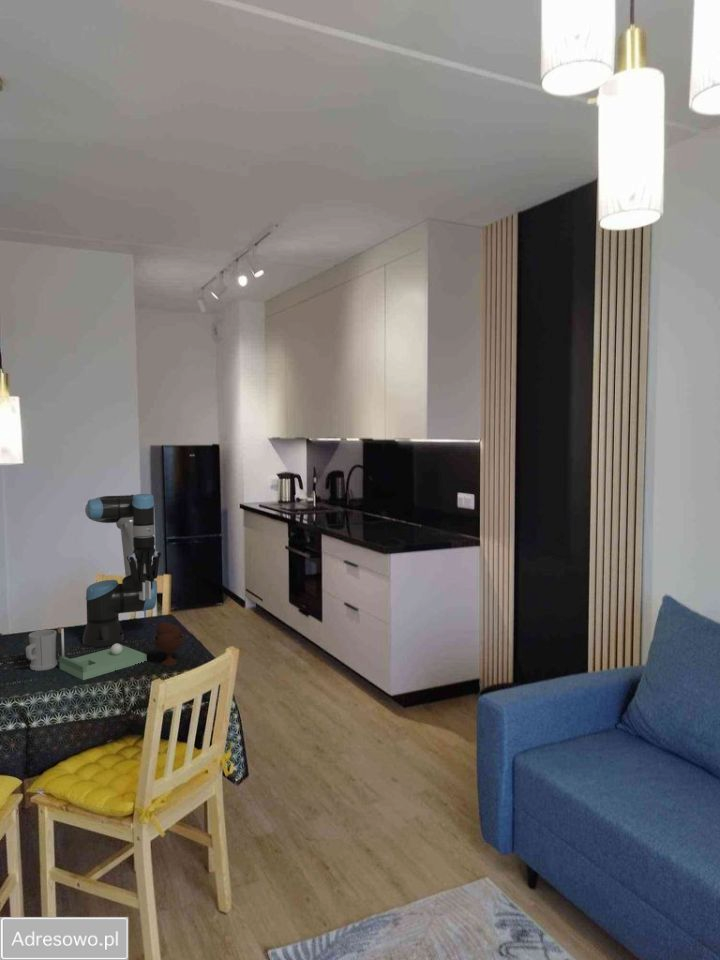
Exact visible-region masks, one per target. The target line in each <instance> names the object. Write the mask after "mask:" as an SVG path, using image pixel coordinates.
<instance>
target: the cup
mask: <svg viewBox="0 0 720 960" xmlns="http://www.w3.org/2000/svg"><path fill="white" fill-rule="evenodd" d="M28 640H29V645H27V646H26V648H25V656H26V659H27V660H29V661H30V663H29V668H30V670H32V671H34V670H35V671H36V672H41V671H42V672H43V671H48V670H51V669H54V668H56V666H58V659H57V658H56V657H57V656H56V655H57V653H56V651H57V649H56V648H57V630H54V629H41V630H37V631H35V630H34V631H33V632H30V633H29V634H28Z"/></svg>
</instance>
